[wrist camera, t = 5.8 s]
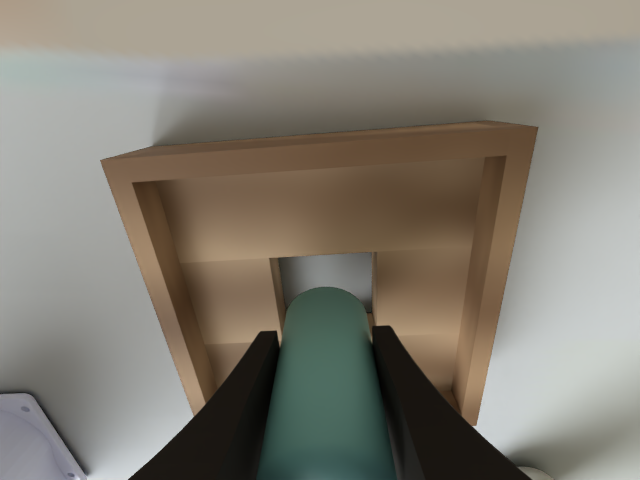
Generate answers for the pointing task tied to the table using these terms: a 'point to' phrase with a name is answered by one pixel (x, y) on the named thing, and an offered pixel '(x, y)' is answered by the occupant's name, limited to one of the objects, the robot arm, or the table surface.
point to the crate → (330, 238)
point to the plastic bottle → (535, 473)
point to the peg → (326, 396)
